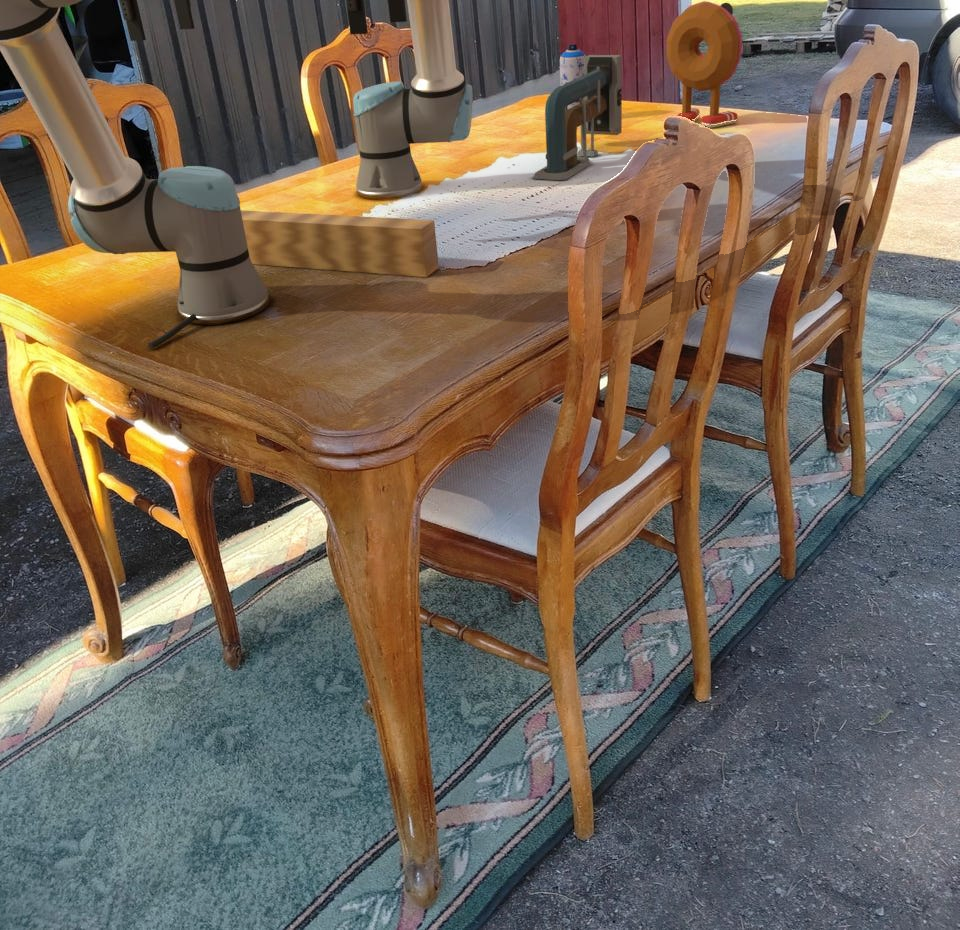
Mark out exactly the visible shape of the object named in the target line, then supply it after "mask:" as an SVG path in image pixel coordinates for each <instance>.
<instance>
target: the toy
mask: <svg viewBox="0 0 960 930" xmlns="http://www.w3.org/2000/svg"><path fill="white" fill-rule="evenodd" d="M733 14H734V8H733V6H732V5H731V3H729V2H723V3H722V4H720V5H719V4H716V3H713V2H711V1H706V0H703V1H700V2H697V3H694V4H691V5H689V6H687V7H686V9H685V10H683V11H682V12H681V13H680V14H679V15H678V16H677V17H676V18H675V19H674V21H673V22H672V24H671V27H670V29H669V32H668V35H667V37H666V51H665V52H666V53H665V54H666V55H665V56H666V59H667V63H668V66H669V68H670V72H671V73H672V74H673V75H674V77H675V78H676V79H677V80H678V82H680V83H681V85H682V92H681V93H682V97H681V99H682V100H681V102H682V103H681V105H682V106H681V107H682V108H681V109H682V110H681V112H682V113H680V112H679V113H678V114H677V115H676V117H677V116H682V117H686V118H688V119H690V120H691V121H694V120H692V119H695V118H696V117H697V116H698V115H699V114H700V113H701V112H700V110H699V109H698V108H695V107H692V100H693V89H694V90H696V91H699V92H701V91H703V92H704V91H705V92H706V91H710V99H709V100H710V101H709V114H707V115H703V116H702V117H701V120H700V123H701V122H703V123H706V124H709V125H705V124H702V123H701V126H702V125H704V126H706V127H705V128H710V129H711V128H713V129H714V128H717V127H722V126H726V125H733V124H736V123H737V122H738V117H739V116H738V113H737V112H735V111H729V110H727V111H722V112H720V104H721V103H720V101H721V86H722V85H723V84H725V83H726V82H728V81H729V80H730V79H731V78H732V77H733V75H734V74H735V73H736V70H737V68H738V65H739V63H740V61H741V57H742V52H743V51H742V50H743V37H742V31H741V29H740V26H739V23H738V21H737V19H736V18H735V17H734V16H733ZM702 42H705V43H706V45H707V51H706V52H705V53H703V52H702V51H701V49H700V44H701V43H702ZM681 114H682V115H681ZM698 119H700V115H699V117H698V118H696V119H695V120H696V121H697V120H698ZM736 119H737V120H736ZM731 120H736V121H731ZM696 121H694V123H695V122H696ZM724 121H731V122H726V123H722V124H717V123H721V122H724ZM711 124H717V125H711ZM704 126H703V127H704Z"/></svg>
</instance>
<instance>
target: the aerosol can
mask: <svg viewBox="0 0 960 930" xmlns="http://www.w3.org/2000/svg"><path fill="white" fill-rule="evenodd" d="M586 56H587V55H586V54H585V52H584V51H583V50H581V49H579V48H578V44H577V43H574V44H568V48H567V49H566V50H565V51H563V52H562V53H561V55H560V56H559V79H560V81H559V83H560V84H559V86H562V85H564V84H566V83H568V82H570V81H573V80H575V79H577V78H579V77H581V76H583V75H585V57H586ZM578 104H580V102H574V103H572V104H570V105H568V109H570V108H572V107H574V106H576V105H578Z"/></svg>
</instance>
